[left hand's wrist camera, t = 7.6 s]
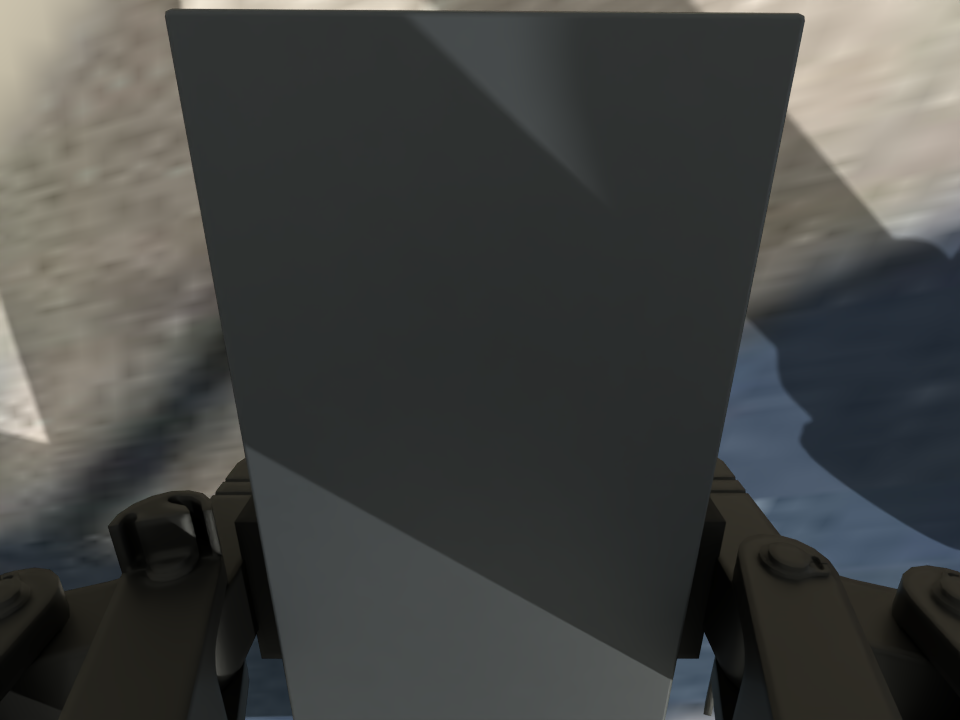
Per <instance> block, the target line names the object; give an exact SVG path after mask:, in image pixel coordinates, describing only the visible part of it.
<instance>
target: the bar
mask: <svg viewBox="0 0 960 720" xmlns="http://www.w3.org/2000/svg"><path fill="white" fill-rule="evenodd" d="M165 19H166V24H167V30H168V35H169V41H170V46H171V52H172V57H173V63H174V68H175V74H176V79H177V85H178V90H179V96H180V101H181V107H182V112H183V118H184V123H185V129H186V134H187V139H188V145H189V150H190V156H191V161H192V167H193V172H194V178H195V183H196V189H197V194H198V200H199V205H200V211H201V216H202V222H203V227H204V233H205V238H206V244H207V249H208V254H209V260H210V265H211V271H212V276H213V282H214V287H215V293H216V298H217V304H218V309H219V315H220V320H221V326H222V331H223V337H224V342H225V348H226V353H227V359H228V364H229V369H230V375H231V380H232V386H233V391H234V397H235V402H236V408H237V413H238V419H239V424H240V430H241V435H242V441H243V446H244V452H245V457H246V463H247V468H248V474H249V479H250V484H251V490H252V495H253V501H254V506H255V512H256V517H257V523H258V528H259V534H260V539H261V545H262V550H263V556H264V561H265V567H266V572H267V578H268V583H269V589H270V594H271V599H272V605H273V610H274V616H275V621H276V627H277V632H278V638H279V643H280V649H281V654H282V660H283V665H284V671H285V676H286V682H287V687H288V693H289V698H290V703H291V709H292V714H293V720H665V716H666V711H667V706H668V701H669V696H670V691H671V686H672V681H673V676H674V671H675V666H676V661H677V656H678V651H679V646H680V641H681V636H682V631H683V626H684V621H685V616H686V611H687V606H688V601H689V596H690V591H691V586H692V581H693V576H694V571H695V566H696V561H697V556H698V551H699V546H700V541H701V536H702V531H703V526H704V521H705V516H706V511H707V506H708V502H709V497H710V492H711V487H712V482H713V477H714V472H715V467H716V462H717V457H718V452H719V447H720V442H721V437H722V432H723V427H724V422H725V417H726V412H727V407H728V402H729V397H730V392H731V387H732V382H733V377H734V372H735V367H736V362H737V357H738V352H739V347H740V342H741V337H742V332H743V327H744V322H745V317H746V312H747V307H748V302H749V297H750V292H751V287H752V282H753V277H754V272H755V267H756V262H757V257H758V252H759V247H760V242H761V237H762V232H763V227H764V222H765V217H766V212H767V207H768V202H769V197H770V192H771V187H772V182H773V177H774V172H775V167H776V162H777V157H778V152H779V147H780V142H781V137H782V132H783V127H784V122H785V117H786V112H787V107H788V102H789V97H790V92H791V87H792V82H793V77H794V72H795V67H796V62H797V57H798V52H799V47H800V42H801V37H802V32H803V27H804V22H805V19H804V16H803V15H801V14H799V13H710V12H566V11H421V10H276V9H170V10H168V11H166V13H165Z"/></svg>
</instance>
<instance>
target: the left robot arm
mask: <svg viewBox="0 0 960 720" xmlns="http://www.w3.org/2000/svg"><path fill="white" fill-rule="evenodd" d="M108 529H109V532H110V535H111V538H112V542H113V545H114V548H115V551H116V555H117V558H118V561H119V564H120V568H121V571H122V575H121V577H120V578H119V579H116V580H112V581H109V582H104V583H100V584H95V585H91V586H86V587H82V588H77V589H73V590H68V591H64V590H63V588H62V585H61V582H60V579H59V577H58V576H57V575H56V574H55V573H54V572H52V571H51V570H49V569H41V568H29V569H23V570H16V571H12V572H9V573H5V574H3V575H0V720H245V714H246V705H247V696H248V687H249V676H248V669H247V664H246V659H245V658H246V656H247V654H248V652H249V649H250V647H251V645H252V643H253V641H254V638H255V636H256V634H257V637H258V642H259V647H260V652H261V657H262V659H282V654H281V649H280V643H279V638H278V632H277V627H276V621H275V616H274V610H273V605H272V599H271V594H270V589H269V583H268V578H267V572H266V567H265V561H264V556H263V550H262V545H261V539H260V534H259V528H258V523H257V517H256V512H255V506H254V501H253V495H252V490H251V484H250V479H249V474H248V468H247V463H246V458H245V459H243V460H242V461H240V462H239V463H237V465H236V466H235V467H234V469H233V470H232V471H231V472H230V474H229V475H228V476H227V478H226V481H225V482H223V483H222V484H221V485H220V487H219V488H218V489H217V491H216V494H215V495H213V496H212V497H211V498H210V499H209V498H208V497H207V496H205V495H204V494H203V493H199V492H194V491H190V490H187V491H171V492H167V493H163V494H158V495H154V496H151V497H149V498H146V499H144V500H142V501H139V502H137V503H135V504H133V505H131V506H130V507H128V508H127V509H125V510H124V511H122V512H121V513H119V514H118V515H117V516H116V517H115V518H114V520H113V521H112V522H111V523H110V524H109V526H108ZM704 632H705V635H706V637H707V639H708V641H709V643H710V645H711V648H712V650H713V652H714V654H715V659H714V664H713V669H712V673H711V678H710V682H709V687H708V692H707V696H706V701H705V707H704V714H705V715H709V716H711V714H712V709H713V705H714V712H715V720H960V573H959V572H958V571H954V570H951V569H947V568H941V567H934V566H918V567H911V568H910V569H909V570H908V571H906V572H905V573H904V574H903V576H902V578H901V581H900V584H899V587H898V589H894V588H890V587H885V586H880V585H876V584H871V583H867V582H862V581H858V580H853V579H849V578H846V577H842V576H839V574H838V572H837V571H836V569H835V568H834V567H833V565H832V564H831V562H830V561H829V560H828V559H827V558H826V557H824V556H823V555H822V554H820V553H819V552H818V551H817V550H815V549H814V548H812V547H810V546H808V545H806V544H804V543H802V542H800V541H798V540H795V539H791V538H788V537H784V536H781V535H780V534H779V533H778V531H777V530H776V529H775V528H774V526H773V525H772V524H771V522H770V521H769V520H768V519H767V517H766V516H765V515H764V513H763V512H762V511H761V509H760V508H759V507H758V506H757V504H756V503H755V502H754V500H753V499H752V498H751V497H750V495H749V494H748V493H746V492H745V489H744V488H743V486H742V485H741V484H740V482H739V481H738V480H735V476H734V475H733V473H732V472H731V471H730V469H729V468H728V467H727V466H726V464H725V463H724V462H723V461H722V460H720V459H719V458H717V462H716V467H715V472H714V477H713V482H712V487H711V492H710V497H709V502H708V506H707V511H706V516H705V521H704V526H703V531H702V536H701V541H700V546H699V551H698V556H697V561H696V566H695V571H694V576H693V581H692V586H691V591H690V596H689V601H688V606H687V611H686V616H685V621H684V626H683V631H682V636H681V641H680V646H679V651H678V656H677V659H699V655H700V650H701V645H702V640H703V635H704Z"/></svg>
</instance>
